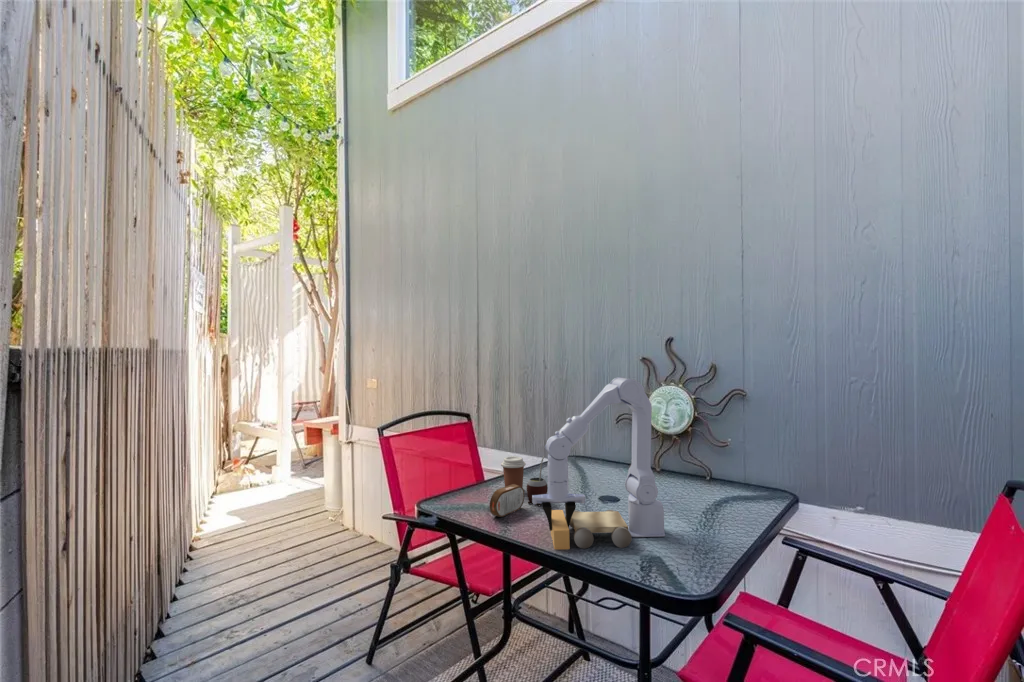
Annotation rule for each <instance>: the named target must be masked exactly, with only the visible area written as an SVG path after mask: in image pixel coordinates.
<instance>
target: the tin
mask: <svg viewBox="0 0 1024 682" xmlns="http://www.w3.org/2000/svg"><path fill="white" fill-rule="evenodd" d="M524 503H525V489H524V488H522V487H521V486H518V485H516V484H512V485H509V486H506V487H505V486H504V487H502V488H501V487H500V488H498V489H496V490H494V492H493V493H492V495H491V497H490V500H489V512H490V513H491V514H492V516H495V517H499V518H503V517H506V516H508V515H510V513H511V514H513V513H515V512H518V511H519V510H521V508H522V506H523V505H524ZM517 510H518V511H517ZM514 511H515V512H514ZM512 512H513V513H512ZM505 515H506V516H505Z"/></svg>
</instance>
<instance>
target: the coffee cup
mask: <svg viewBox="0 0 1024 682" xmlns="http://www.w3.org/2000/svg"><path fill="white" fill-rule="evenodd" d="M500 464H501V465H500V466H501V467H502V471H503V479H504V480H503V481H504V487H506V486H509V485H512V484H516V485H518V486H521V487H522V488H523V487H524V473H525V472H524V469H525V466H526V464H527V463H526V461H524V459H523V457H522V456H515V455H514V456H512V455H511V456H506V457H504V458H503V461H502V462H500ZM523 489H524V488H523Z"/></svg>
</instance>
